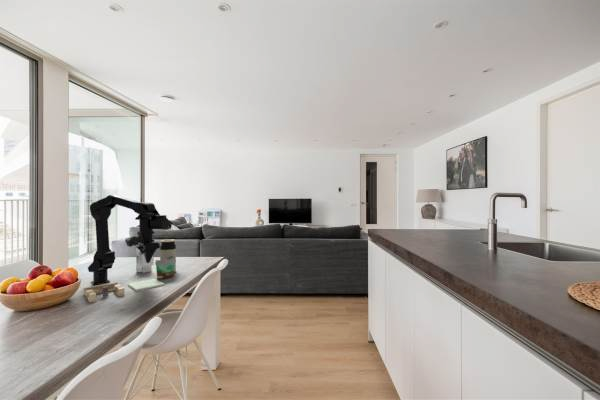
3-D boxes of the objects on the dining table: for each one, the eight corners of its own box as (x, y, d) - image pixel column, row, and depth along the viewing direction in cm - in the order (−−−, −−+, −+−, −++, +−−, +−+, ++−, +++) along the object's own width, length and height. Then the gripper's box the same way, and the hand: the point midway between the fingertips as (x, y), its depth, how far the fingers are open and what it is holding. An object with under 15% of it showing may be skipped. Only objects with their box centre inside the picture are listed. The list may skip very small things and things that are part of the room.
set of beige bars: (83, 294, 119) (83, 285, 119) (116, 288, 128) (116, 279, 128) (89, 302, 110) (89, 292, 110) (124, 295, 119) (124, 285, 119)
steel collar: (138, 265, 132) (138, 252, 132) (149, 263, 136) (149, 251, 136) (142, 266, 129) (142, 254, 129) (153, 265, 132) (153, 252, 132)
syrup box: (152, 270, 159) (152, 245, 159) (142, 273, 154) (142, 247, 154) (145, 269, 162) (145, 244, 162) (135, 272, 156) (135, 246, 156)
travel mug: (160, 274, 151) (160, 241, 151) (160, 271, 158) (160, 239, 159) (176, 272, 155) (176, 240, 155) (175, 269, 162) (175, 238, 162)
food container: (165, 280, 140) (165, 261, 140) (155, 280, 141) (155, 260, 141) (180, 274, 152) (181, 256, 152) (170, 273, 153) (171, 255, 153)
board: (128, 285, 132) (128, 283, 132) (155, 280, 141) (155, 278, 141) (136, 291, 124) (136, 289, 124) (164, 285, 132) (164, 283, 132)
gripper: (121, 228, 133) (121, 261, 133) (133, 232, 120) (133, 268, 120) (146, 227, 141) (146, 258, 141) (160, 230, 128) (160, 264, 128)
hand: (146, 261), depth 132 cm, fingers closed on steel collar, 5 cm apart
